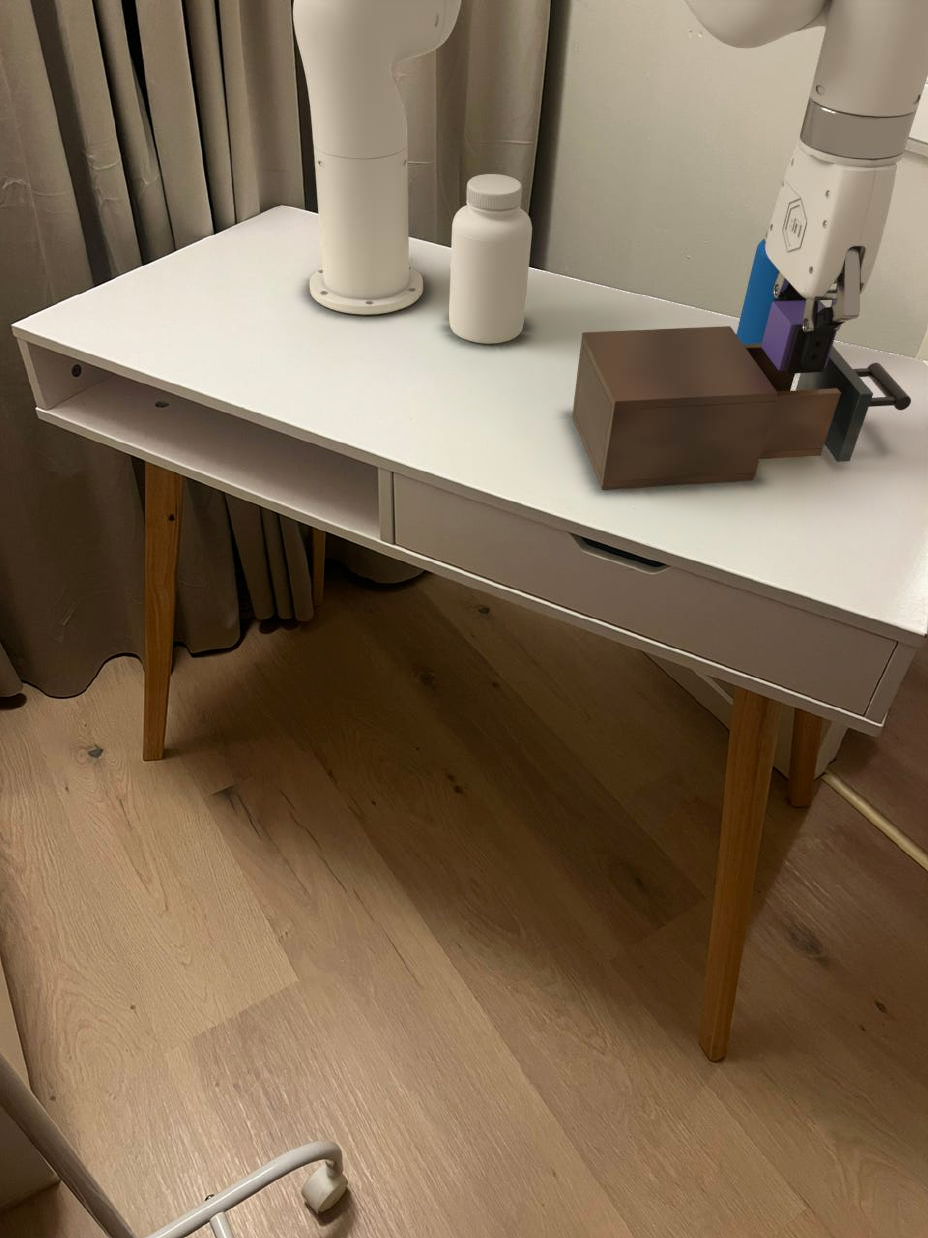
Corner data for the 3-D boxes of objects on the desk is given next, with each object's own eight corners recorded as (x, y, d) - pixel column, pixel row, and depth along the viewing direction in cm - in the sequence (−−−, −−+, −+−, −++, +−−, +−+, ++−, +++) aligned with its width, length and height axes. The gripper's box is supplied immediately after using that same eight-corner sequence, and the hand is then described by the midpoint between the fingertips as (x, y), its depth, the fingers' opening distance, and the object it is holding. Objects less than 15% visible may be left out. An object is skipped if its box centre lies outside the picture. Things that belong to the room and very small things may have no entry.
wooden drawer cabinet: (711, 409, 95) (730, 325, 89) (753, 480, 86) (778, 392, 80) (571, 417, 93) (581, 331, 87) (601, 489, 85) (615, 401, 79)
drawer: (856, 397, 95) (878, 331, 91) (906, 458, 88) (933, 390, 83) (678, 406, 93) (691, 339, 88) (713, 470, 86) (730, 400, 81)
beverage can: (801, 346, 104) (834, 233, 96) (789, 374, 100) (822, 258, 92) (741, 333, 106) (767, 220, 98) (726, 359, 102) (753, 244, 94)
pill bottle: (517, 350, 102) (528, 202, 92) (441, 340, 103) (443, 193, 93) (529, 315, 108) (541, 172, 97) (457, 306, 109) (461, 164, 98)
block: (760, 346, 86) (772, 301, 83) (806, 344, 87) (819, 299, 84) (778, 370, 83) (791, 324, 80) (825, 368, 84) (840, 322, 81)
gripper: (764, 95, 78) (718, 313, 91) (855, 170, 66) (787, 410, 78) (854, 93, 79) (796, 310, 91) (960, 168, 67) (876, 405, 79)
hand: (792, 354), depth 85 cm, fingers closed on block, 4 cm apart
